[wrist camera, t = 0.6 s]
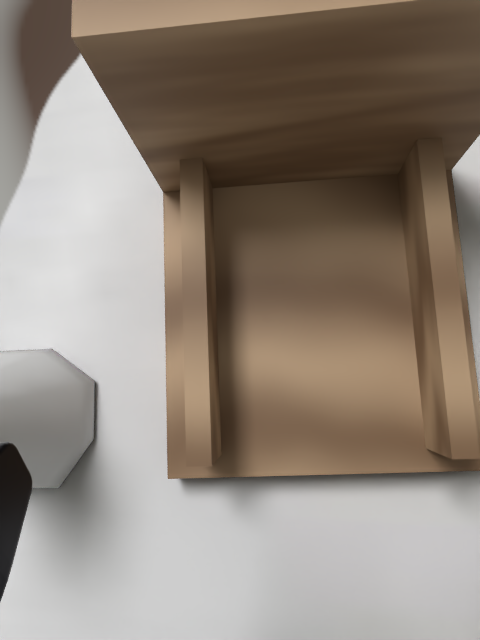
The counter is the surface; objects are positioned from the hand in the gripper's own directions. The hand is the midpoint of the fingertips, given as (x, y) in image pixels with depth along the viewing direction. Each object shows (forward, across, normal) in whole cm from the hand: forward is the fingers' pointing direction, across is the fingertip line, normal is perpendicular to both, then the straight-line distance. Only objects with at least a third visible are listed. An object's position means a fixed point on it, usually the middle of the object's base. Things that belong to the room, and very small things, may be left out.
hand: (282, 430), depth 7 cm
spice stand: (+14, -2, +6) cm, 15 cm away
